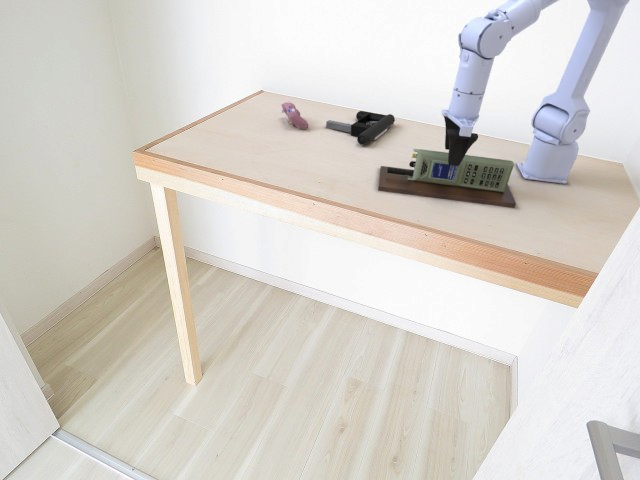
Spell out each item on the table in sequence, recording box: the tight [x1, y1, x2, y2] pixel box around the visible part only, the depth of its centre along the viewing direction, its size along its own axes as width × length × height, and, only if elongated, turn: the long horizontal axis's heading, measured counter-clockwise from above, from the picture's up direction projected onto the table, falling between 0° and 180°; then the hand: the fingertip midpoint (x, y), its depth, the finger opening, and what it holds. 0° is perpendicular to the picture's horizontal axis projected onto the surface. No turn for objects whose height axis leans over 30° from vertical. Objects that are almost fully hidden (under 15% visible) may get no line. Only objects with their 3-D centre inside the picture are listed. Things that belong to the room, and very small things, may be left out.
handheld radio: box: [387, 148, 515, 193], centre depth 88 cm, size 7×3×25 cm
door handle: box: [325, 110, 396, 146], centre depth 114 cm, size 3×20×16 cm
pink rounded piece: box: [280, 100, 309, 130], centre depth 115 cm, size 10×5×7 cm, turn 17°
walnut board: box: [377, 165, 517, 209], centre depth 90 cm, size 28×10×1 cm, turn 81°
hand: (451, 156), depth 86 cm, fingers open, 7 cm apart
